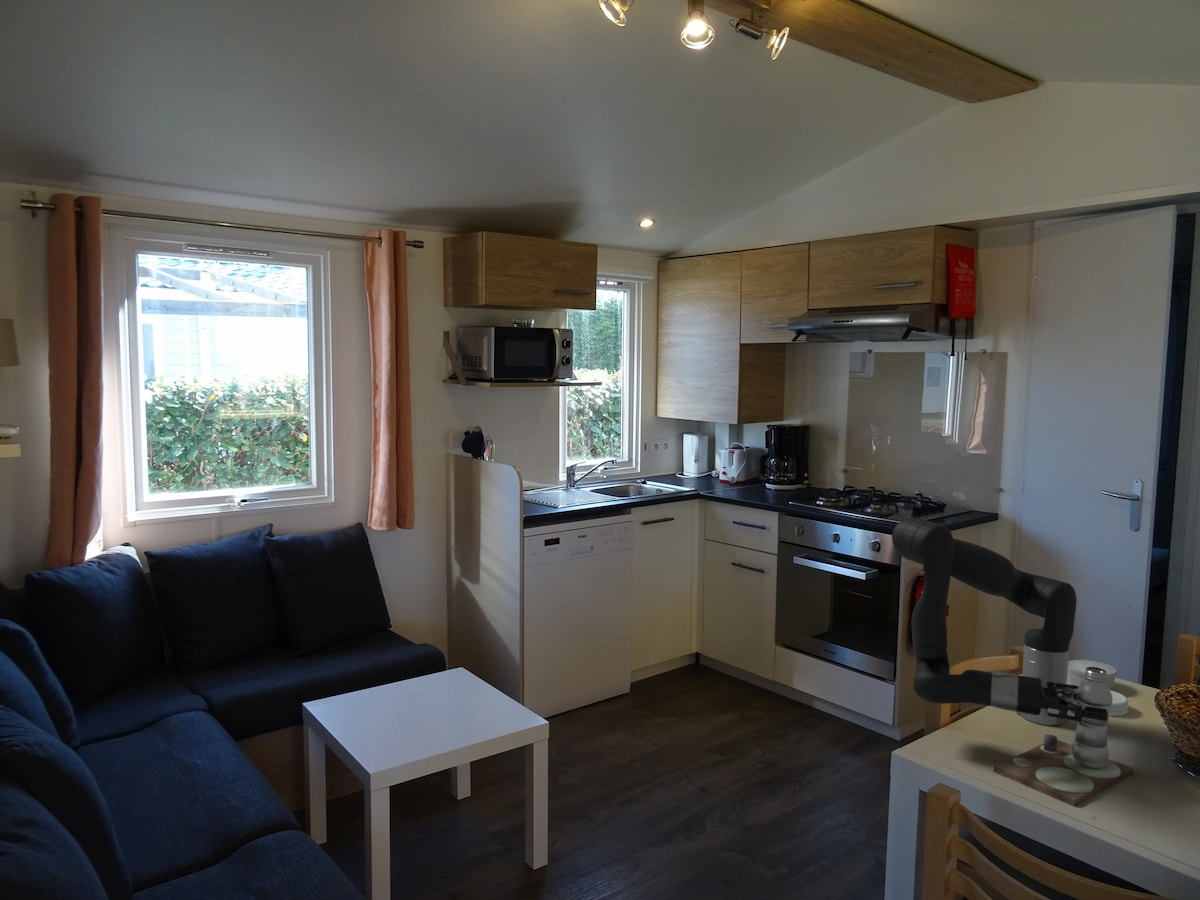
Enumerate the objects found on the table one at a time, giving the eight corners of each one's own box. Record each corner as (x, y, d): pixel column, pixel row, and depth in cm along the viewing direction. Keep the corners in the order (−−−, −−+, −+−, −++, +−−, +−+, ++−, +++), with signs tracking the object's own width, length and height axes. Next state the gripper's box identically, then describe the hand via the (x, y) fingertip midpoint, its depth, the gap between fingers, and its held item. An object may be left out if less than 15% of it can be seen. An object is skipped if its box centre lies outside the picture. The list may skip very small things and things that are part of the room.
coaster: (1103, 699, 207) (1103, 685, 207) (1137, 715, 198) (1138, 701, 197) (1069, 702, 205) (1070, 689, 205) (1103, 719, 195) (1104, 705, 195)
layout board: (993, 771, 169) (994, 751, 169) (1054, 744, 182) (1055, 725, 181) (1073, 806, 156) (1075, 784, 156) (1133, 773, 169) (1134, 753, 168)
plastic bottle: (1111, 763, 169) (1118, 669, 167) (1103, 776, 165) (1111, 679, 162) (1075, 753, 174) (1082, 661, 171) (1067, 765, 169) (1073, 670, 167)
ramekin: (1055, 682, 218) (1057, 663, 217) (1082, 675, 223) (1083, 656, 222) (1098, 698, 208) (1099, 677, 207) (1125, 690, 213) (1126, 670, 212)
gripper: (1016, 687, 168) (1110, 702, 160) (1016, 665, 180) (1103, 677, 173) (1014, 723, 168) (1107, 739, 161) (1014, 698, 181) (1101, 712, 174)
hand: (1105, 707), depth 167 cm, fingers open, 8 cm apart
